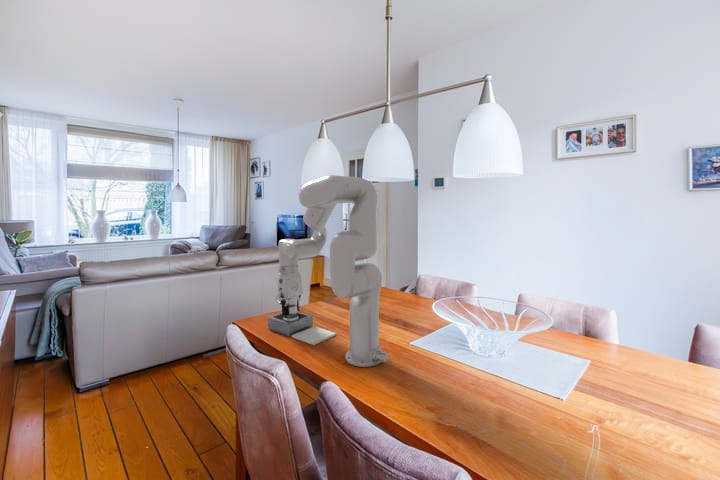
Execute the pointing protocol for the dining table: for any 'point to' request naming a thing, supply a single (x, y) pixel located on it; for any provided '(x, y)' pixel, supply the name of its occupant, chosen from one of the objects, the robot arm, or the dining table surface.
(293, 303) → the plastic bottle
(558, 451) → the dining table surface
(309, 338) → the mat
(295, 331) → the steel collar
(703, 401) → the dining table surface
